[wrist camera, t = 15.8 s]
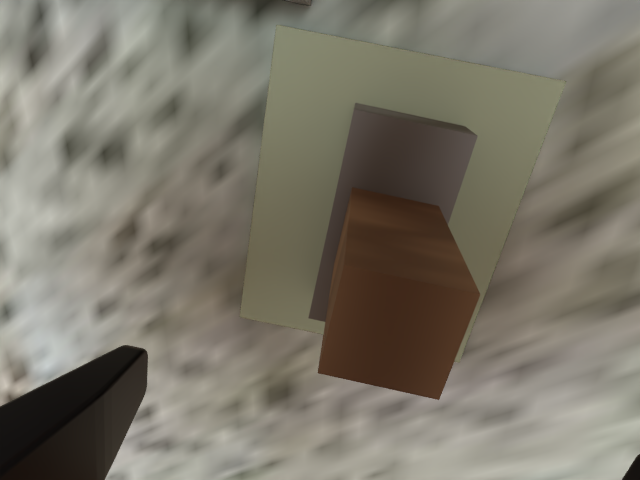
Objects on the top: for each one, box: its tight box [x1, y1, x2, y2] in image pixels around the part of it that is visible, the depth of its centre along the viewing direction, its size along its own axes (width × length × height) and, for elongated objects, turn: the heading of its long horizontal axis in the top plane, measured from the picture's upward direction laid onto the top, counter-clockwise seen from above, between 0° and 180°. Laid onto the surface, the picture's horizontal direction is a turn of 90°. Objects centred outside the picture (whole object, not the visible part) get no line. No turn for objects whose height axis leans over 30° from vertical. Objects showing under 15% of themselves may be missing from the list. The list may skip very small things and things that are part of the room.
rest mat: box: [240, 25, 566, 363], centre depth 18 cm, size 10×12×1 cm
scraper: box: [308, 103, 481, 400], centre depth 14 cm, size 4×8×8 cm, turn 169°
